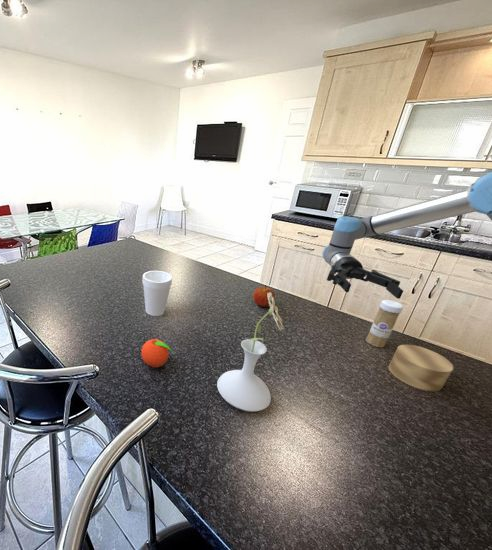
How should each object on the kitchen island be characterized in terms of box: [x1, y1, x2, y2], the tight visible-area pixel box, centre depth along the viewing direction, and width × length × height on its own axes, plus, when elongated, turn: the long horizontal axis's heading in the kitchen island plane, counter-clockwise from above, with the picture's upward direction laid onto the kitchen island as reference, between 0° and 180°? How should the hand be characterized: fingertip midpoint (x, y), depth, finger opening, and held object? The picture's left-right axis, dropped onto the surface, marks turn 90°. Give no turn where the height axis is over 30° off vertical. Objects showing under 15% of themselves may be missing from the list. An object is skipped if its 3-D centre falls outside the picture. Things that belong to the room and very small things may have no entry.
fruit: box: [252, 284, 276, 308], centre depth 103 cm, size 7×7×8 cm
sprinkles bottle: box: [365, 299, 404, 348], centre depth 83 cm, size 5×5×13 cm
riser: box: [388, 344, 454, 392], centre depth 72 cm, size 10×10×6 cm
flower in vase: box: [216, 292, 285, 413], centre depth 62 cm, size 13×11×25 cm
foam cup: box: [142, 270, 173, 317], centre depth 97 cm, size 10×9×13 cm
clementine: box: [140, 338, 174, 368], centre depth 74 cm, size 8×7×7 cm
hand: (373, 291), depth 89 cm, fingers open, 13 cm apart
